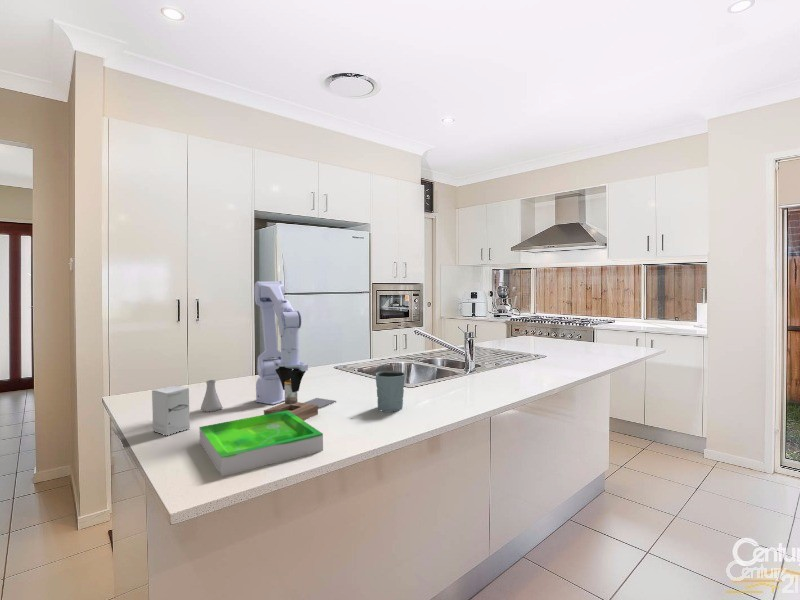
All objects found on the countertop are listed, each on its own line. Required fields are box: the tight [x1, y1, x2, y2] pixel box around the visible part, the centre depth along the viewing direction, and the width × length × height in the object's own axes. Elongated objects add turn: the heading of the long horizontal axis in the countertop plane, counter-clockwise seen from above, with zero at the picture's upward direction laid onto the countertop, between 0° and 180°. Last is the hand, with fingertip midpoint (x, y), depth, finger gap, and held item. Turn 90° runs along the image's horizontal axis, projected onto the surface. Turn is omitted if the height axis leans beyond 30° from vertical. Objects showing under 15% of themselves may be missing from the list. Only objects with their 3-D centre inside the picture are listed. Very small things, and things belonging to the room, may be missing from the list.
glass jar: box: [284, 379, 299, 404], centre depth 140 cm, size 4×4×7 cm
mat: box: [303, 397, 337, 409], centre depth 156 cm, size 9×9×1 cm
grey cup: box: [375, 370, 406, 413], centre depth 149 cm, size 10×10×12 cm
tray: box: [198, 410, 324, 477], centre depth 116 cm, size 25×25×5 cm
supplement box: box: [151, 385, 191, 437], centre depth 128 cm, size 7×7×13 cm
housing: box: [263, 401, 319, 421], centre depth 141 cm, size 12×12×3 cm
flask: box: [200, 379, 224, 413], centre depth 150 cm, size 7×7×10 cm
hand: (290, 390), depth 140 cm, fingers closed on glass jar, 4 cm apart
